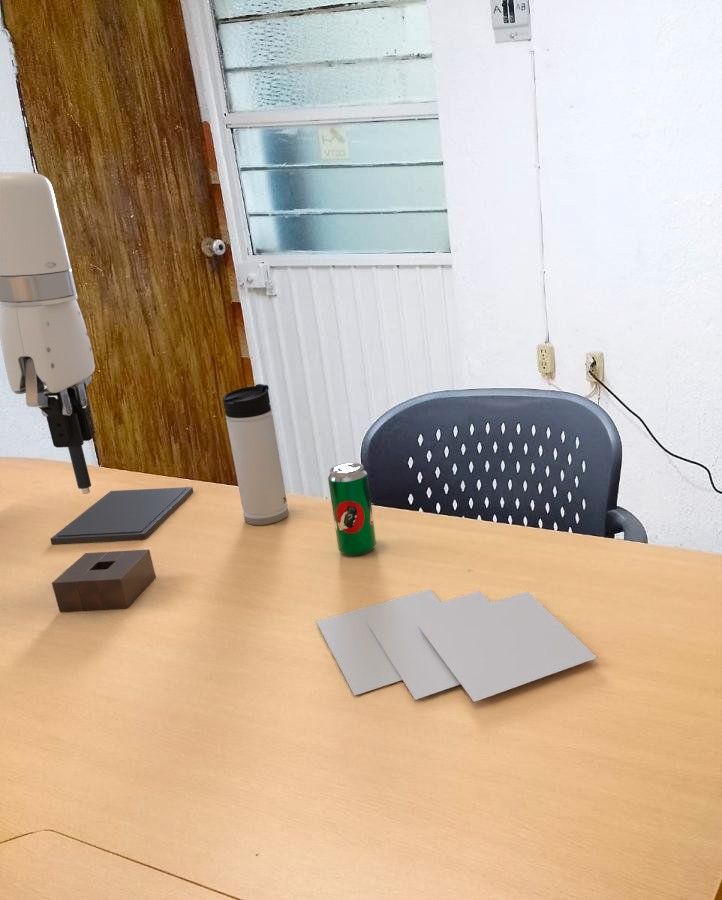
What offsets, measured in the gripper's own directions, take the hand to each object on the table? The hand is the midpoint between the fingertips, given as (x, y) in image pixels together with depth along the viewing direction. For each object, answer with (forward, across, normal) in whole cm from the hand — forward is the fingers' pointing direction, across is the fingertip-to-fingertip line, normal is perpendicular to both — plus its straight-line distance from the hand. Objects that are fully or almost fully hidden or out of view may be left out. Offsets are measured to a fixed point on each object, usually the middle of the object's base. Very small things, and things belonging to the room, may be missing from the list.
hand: (73, 442), depth 99 cm
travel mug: (+20, -20, +14) cm, 32 cm away
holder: (+20, +2, +1) cm, 20 cm away
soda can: (+20, -7, +30) cm, 36 cm away
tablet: (+20, -23, -8) cm, 32 cm away
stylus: (+7, 0, 0) cm, 7 cm away
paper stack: (+19, +18, +45) cm, 52 cm away
